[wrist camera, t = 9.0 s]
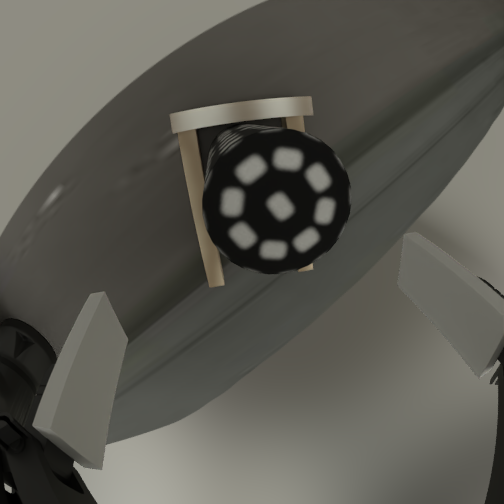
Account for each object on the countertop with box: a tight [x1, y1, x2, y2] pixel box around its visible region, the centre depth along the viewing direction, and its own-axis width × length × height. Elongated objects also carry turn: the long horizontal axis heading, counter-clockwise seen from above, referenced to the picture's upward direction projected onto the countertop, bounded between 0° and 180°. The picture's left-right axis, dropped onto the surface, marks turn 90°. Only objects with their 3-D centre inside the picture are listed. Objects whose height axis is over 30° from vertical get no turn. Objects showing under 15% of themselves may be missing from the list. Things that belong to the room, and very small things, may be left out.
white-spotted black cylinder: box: [202, 124, 351, 274], centre depth 24 cm, size 8×8×20 cm
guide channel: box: [170, 96, 313, 287], centre depth 32 cm, size 14×22×6 cm, turn 7°
